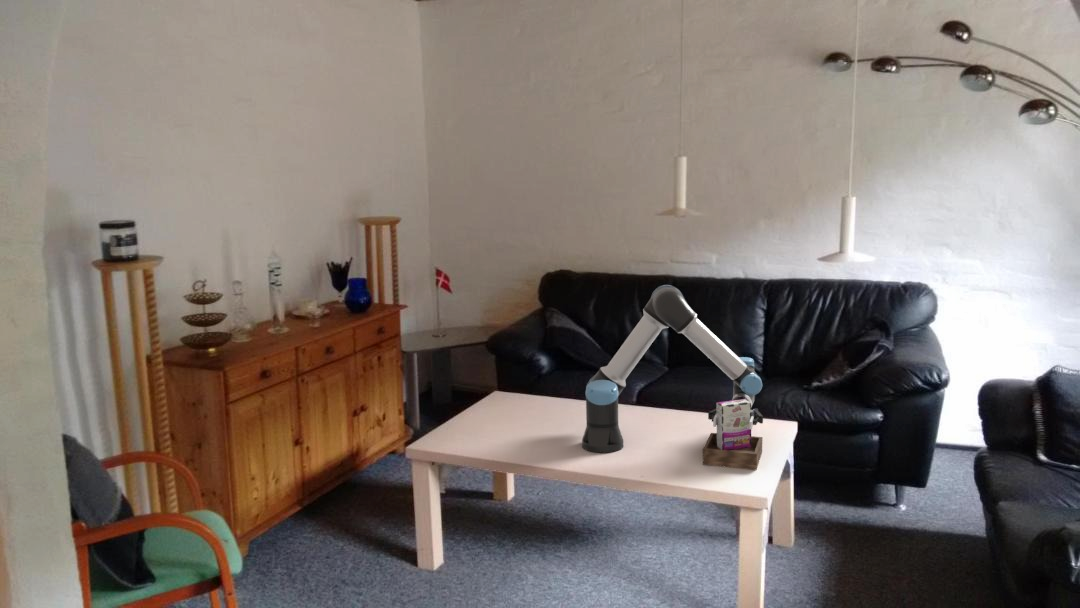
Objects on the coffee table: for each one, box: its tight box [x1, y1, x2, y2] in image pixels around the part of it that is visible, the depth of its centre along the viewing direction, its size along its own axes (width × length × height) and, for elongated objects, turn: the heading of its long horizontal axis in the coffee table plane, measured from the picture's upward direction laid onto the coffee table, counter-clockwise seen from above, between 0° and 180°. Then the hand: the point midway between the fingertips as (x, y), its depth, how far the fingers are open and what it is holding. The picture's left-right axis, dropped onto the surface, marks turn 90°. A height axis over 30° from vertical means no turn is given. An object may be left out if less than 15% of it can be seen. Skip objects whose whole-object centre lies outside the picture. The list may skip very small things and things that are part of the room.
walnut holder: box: [702, 432, 763, 471], centre depth 300 cm, size 18×18×6 cm
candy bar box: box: [715, 399, 752, 451], centre depth 298 cm, size 11×5×16 cm, turn 105°
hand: (732, 424), depth 294 cm, fingers closed on candy bar box, 11 cm apart
